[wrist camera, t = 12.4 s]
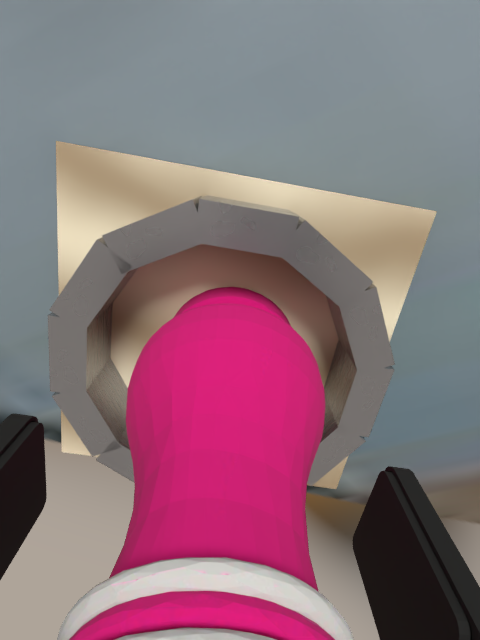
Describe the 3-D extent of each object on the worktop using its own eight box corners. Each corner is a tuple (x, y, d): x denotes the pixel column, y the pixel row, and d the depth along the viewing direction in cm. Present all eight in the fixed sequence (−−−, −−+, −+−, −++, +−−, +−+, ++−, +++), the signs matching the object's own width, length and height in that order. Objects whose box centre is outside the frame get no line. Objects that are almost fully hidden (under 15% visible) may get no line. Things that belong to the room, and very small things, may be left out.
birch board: (72, 144, 16) (55, 140, 14) (420, 208, 17) (436, 211, 15) (73, 434, 21) (62, 452, 20) (330, 469, 22) (336, 489, 21)
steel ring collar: (81, 172, 15) (43, 170, 12) (406, 231, 15) (442, 242, 13) (79, 440, 20) (53, 483, 17) (324, 474, 21) (337, 520, 18)
